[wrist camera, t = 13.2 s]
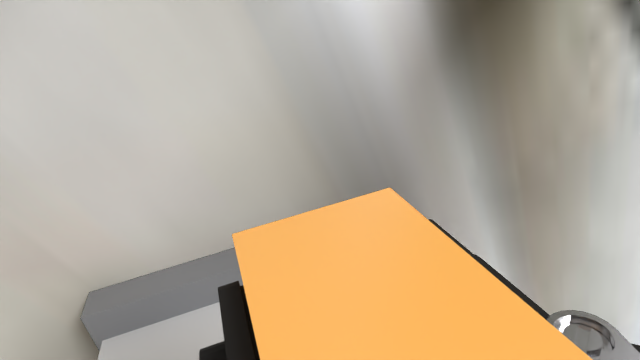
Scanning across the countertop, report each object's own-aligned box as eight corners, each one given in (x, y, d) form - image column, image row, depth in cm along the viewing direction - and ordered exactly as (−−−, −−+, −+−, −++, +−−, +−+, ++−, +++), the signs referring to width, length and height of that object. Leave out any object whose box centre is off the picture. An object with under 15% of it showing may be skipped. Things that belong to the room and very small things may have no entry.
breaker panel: (348, 212, 36) (390, 266, 29) (366, 326, 42) (404, 395, 35) (89, 292, 32) (59, 380, 25) (150, 405, 38) (141, 503, 31)
